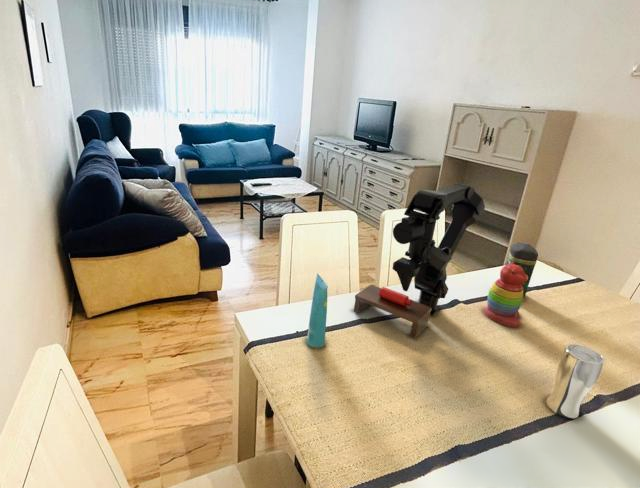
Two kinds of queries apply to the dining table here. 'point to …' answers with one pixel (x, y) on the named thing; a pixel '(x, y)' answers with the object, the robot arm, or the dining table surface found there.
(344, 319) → the dining table surface
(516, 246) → the coffee jar
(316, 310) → the tube
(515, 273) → the stacking bear
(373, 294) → the shelf
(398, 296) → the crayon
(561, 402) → the silver metal cylinder
